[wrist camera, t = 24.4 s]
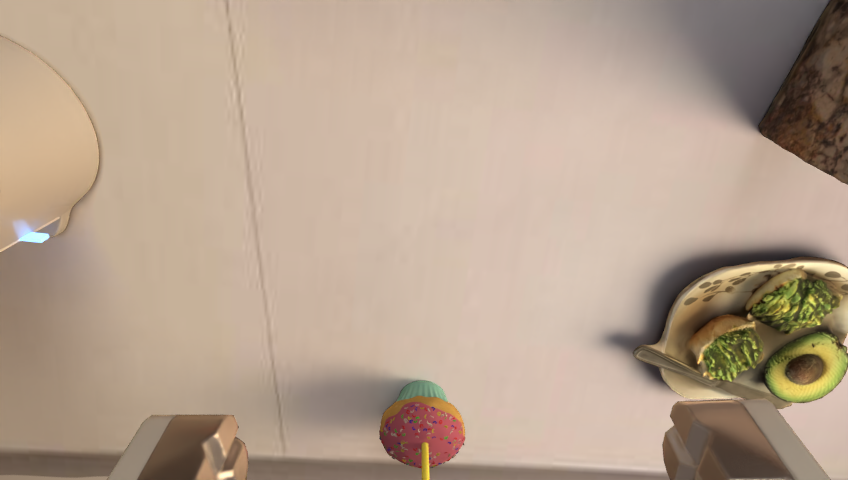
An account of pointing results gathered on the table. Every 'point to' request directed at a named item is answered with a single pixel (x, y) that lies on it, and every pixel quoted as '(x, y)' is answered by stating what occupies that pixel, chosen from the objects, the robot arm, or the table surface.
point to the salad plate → (757, 333)
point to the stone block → (816, 98)
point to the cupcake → (422, 427)
